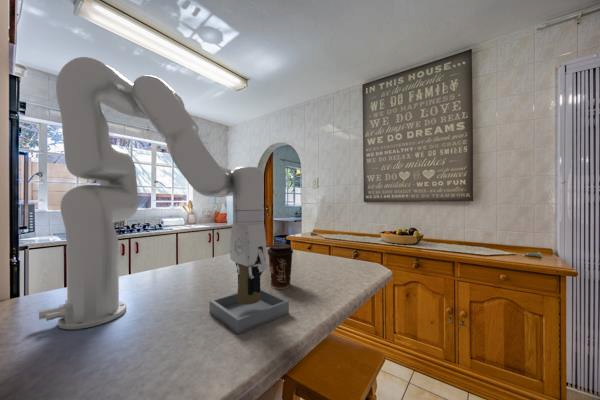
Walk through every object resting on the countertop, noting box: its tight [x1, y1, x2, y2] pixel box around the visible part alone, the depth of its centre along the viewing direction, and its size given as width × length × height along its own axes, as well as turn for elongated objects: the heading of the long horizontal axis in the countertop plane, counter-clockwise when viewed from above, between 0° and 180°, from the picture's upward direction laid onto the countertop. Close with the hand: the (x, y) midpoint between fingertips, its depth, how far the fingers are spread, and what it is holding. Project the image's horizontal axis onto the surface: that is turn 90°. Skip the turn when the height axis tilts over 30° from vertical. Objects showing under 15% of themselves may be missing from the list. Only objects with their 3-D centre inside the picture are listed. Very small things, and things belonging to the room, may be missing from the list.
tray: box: [209, 287, 290, 335], centre depth 62 cm, size 14×14×3 cm
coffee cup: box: [266, 243, 294, 290], centre depth 81 cm, size 9×8×13 cm
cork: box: [236, 261, 261, 305], centre depth 62 cm, size 6×6×11 cm
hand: (249, 290), depth 62 cm, fingers closed on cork, 3 cm apart
